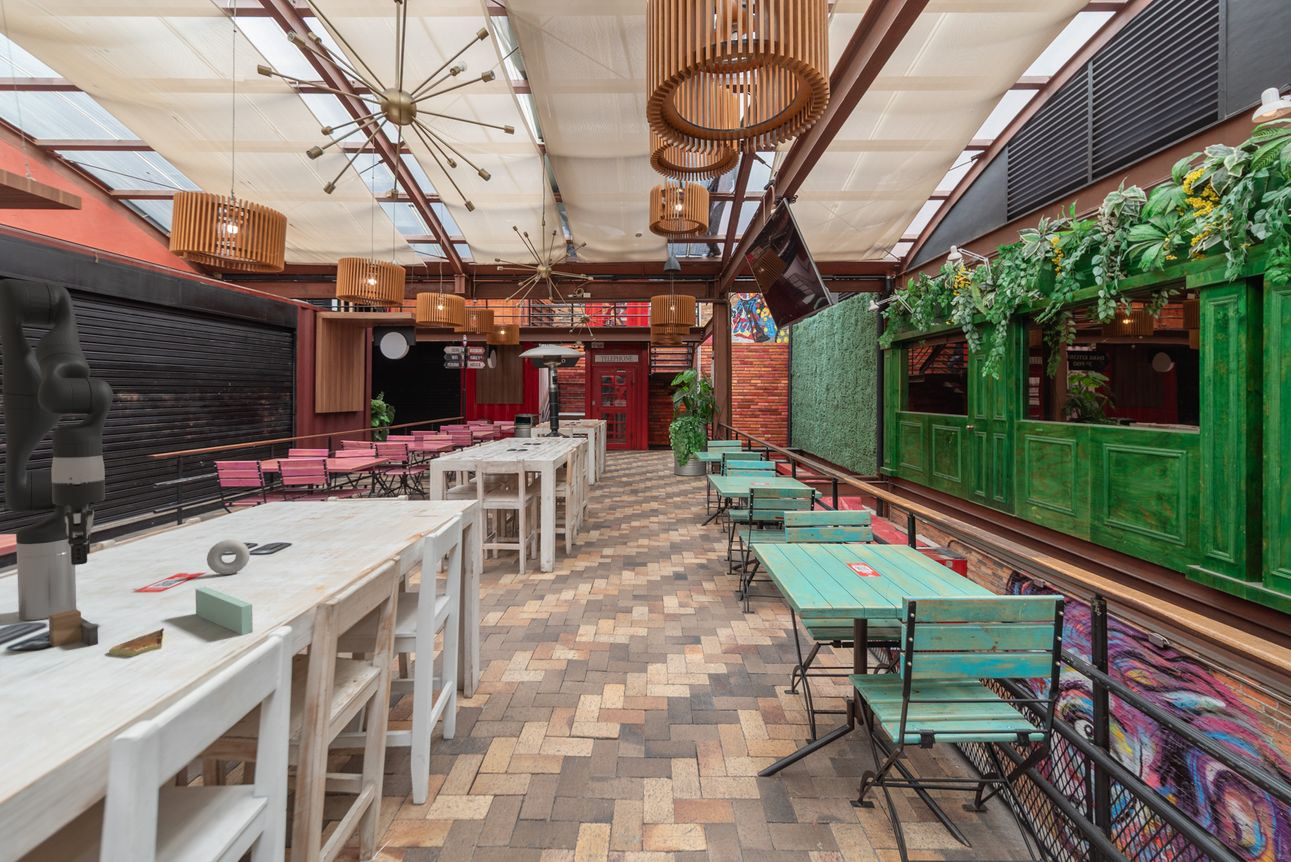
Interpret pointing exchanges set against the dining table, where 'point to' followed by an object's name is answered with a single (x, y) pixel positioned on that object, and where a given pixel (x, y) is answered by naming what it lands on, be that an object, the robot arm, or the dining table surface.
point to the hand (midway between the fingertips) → (80, 559)
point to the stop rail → (224, 610)
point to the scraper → (71, 629)
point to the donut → (224, 546)
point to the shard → (139, 644)
